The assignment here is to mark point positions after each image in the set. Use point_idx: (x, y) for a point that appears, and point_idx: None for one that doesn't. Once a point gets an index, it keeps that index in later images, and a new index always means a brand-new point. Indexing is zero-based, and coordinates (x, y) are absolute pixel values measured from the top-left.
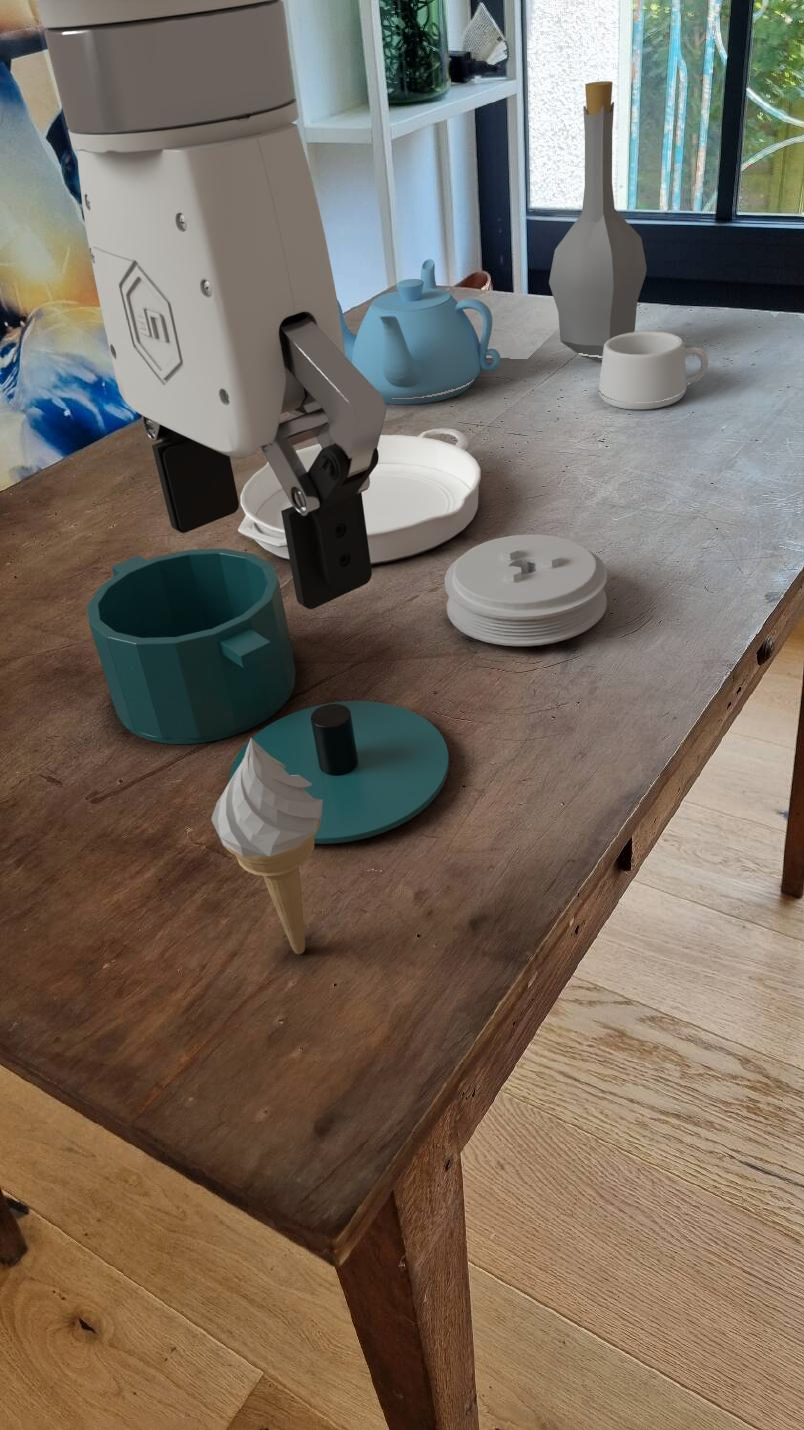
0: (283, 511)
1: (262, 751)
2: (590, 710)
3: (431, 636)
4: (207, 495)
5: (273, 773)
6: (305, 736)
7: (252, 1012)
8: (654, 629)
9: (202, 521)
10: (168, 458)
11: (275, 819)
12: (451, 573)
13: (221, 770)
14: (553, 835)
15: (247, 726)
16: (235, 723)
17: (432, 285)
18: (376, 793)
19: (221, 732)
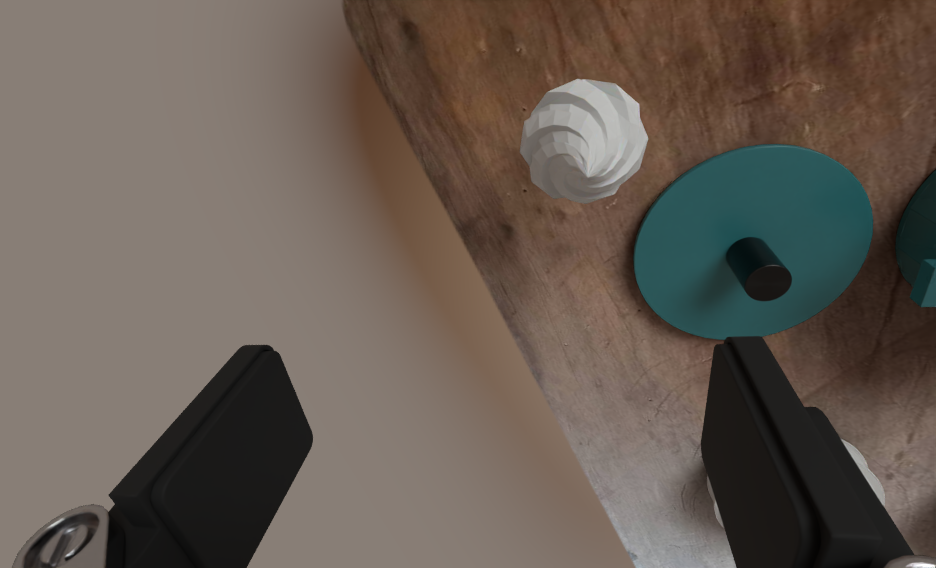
0: (127, 498)
1: (581, 178)
2: (633, 419)
3: (838, 412)
4: (724, 450)
5: (561, 172)
6: (815, 253)
7: (543, 31)
8: (671, 501)
9: (712, 387)
10: (787, 511)
11: (541, 142)
12: (870, 479)
13: (870, 161)
14: (543, 320)
15: (904, 218)
16: (915, 210)
17: None
18: (680, 255)
19: (923, 191)
